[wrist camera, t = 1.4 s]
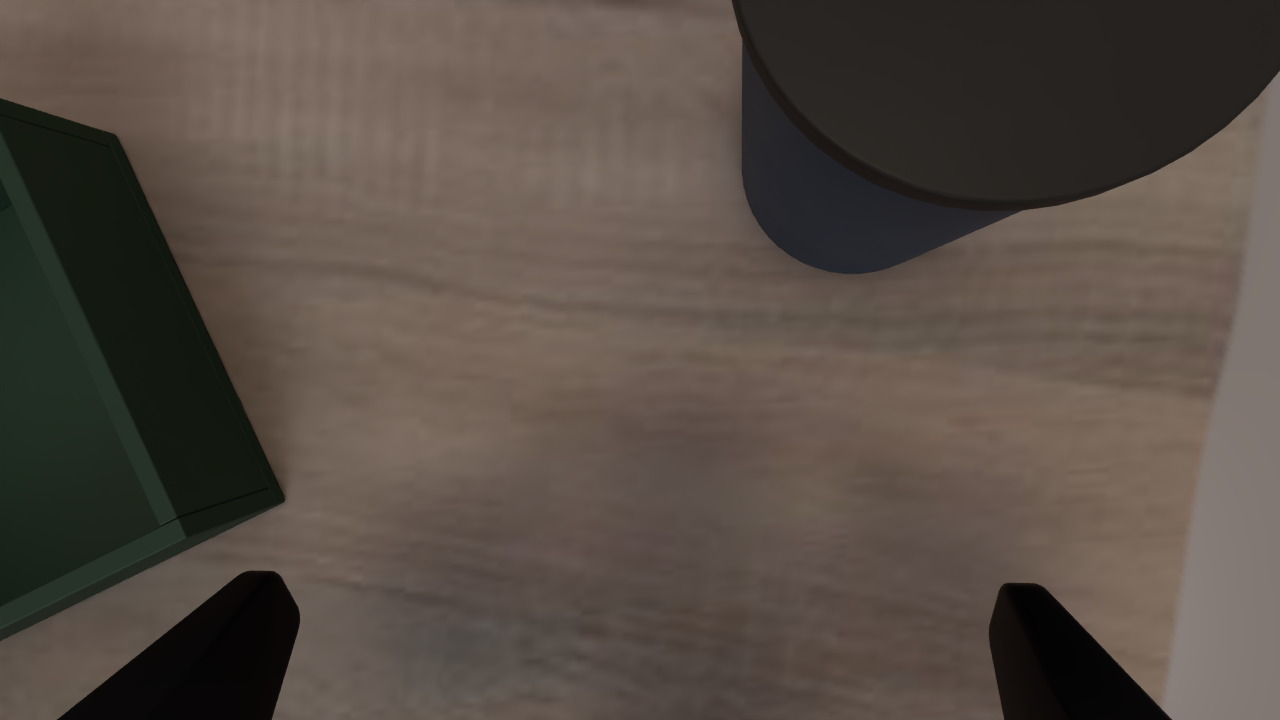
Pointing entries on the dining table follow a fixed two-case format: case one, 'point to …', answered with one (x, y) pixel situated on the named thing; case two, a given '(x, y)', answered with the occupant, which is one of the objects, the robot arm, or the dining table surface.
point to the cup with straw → (975, 110)
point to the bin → (102, 381)
